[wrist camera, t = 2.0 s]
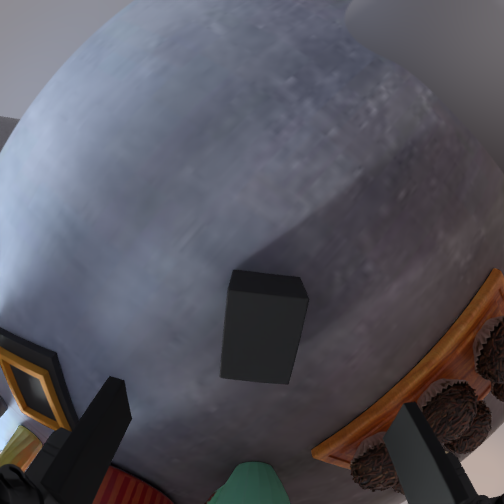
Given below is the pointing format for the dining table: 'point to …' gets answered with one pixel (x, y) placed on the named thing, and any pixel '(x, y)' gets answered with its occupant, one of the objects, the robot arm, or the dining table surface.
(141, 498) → the planter
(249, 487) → the mug
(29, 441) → the vase
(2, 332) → the base
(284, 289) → the black rectangular block
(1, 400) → the bottle
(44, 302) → the dining table surface
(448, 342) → the chocolate muffin tray
